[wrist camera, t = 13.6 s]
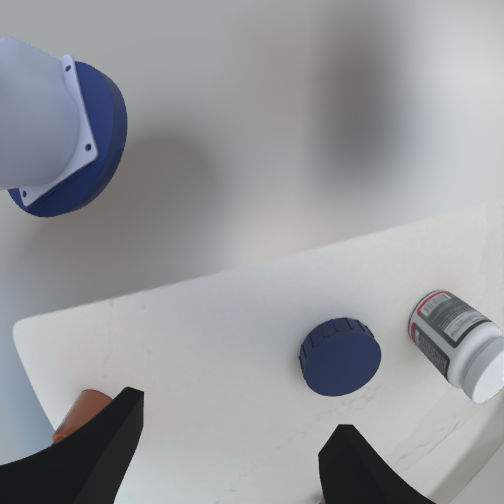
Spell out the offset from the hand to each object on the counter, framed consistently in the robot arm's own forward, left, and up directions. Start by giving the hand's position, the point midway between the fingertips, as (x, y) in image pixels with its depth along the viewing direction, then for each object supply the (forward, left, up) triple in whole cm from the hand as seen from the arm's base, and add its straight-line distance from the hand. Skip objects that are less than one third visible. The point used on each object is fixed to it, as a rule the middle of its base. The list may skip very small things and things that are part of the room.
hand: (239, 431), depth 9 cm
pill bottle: (+6, +13, -10) cm, 17 cm away
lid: (+5, +5, -8) cm, 10 cm away
